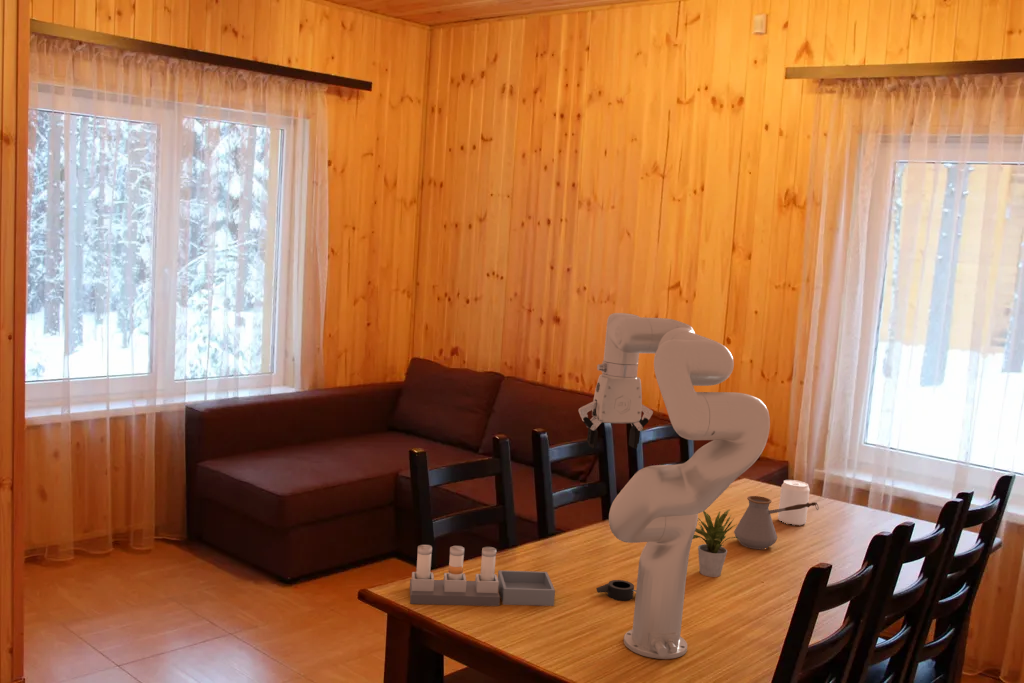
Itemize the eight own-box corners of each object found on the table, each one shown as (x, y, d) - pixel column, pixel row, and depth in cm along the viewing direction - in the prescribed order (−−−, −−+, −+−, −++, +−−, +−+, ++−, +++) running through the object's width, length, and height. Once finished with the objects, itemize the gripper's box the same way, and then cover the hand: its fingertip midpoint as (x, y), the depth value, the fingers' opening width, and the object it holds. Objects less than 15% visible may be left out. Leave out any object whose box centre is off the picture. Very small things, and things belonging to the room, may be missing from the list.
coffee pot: (727, 545, 265) (733, 491, 263) (739, 535, 275) (745, 483, 273) (808, 563, 255) (814, 507, 253) (817, 552, 265) (823, 498, 263)
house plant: (693, 557, 252) (699, 495, 250) (745, 570, 245) (752, 507, 243) (672, 572, 240) (679, 507, 238) (727, 586, 233) (734, 519, 231)
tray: (553, 605, 213) (555, 590, 212) (502, 604, 211) (504, 588, 211) (545, 586, 224) (547, 571, 223) (497, 585, 222) (498, 570, 222)
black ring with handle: (607, 586, 227) (608, 574, 227) (647, 597, 223) (648, 585, 222) (592, 596, 221) (594, 584, 220) (634, 607, 216) (635, 595, 216)
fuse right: (494, 591, 213) (497, 551, 212) (479, 591, 213) (482, 551, 211) (492, 586, 216) (495, 547, 215) (478, 586, 216) (481, 546, 214)
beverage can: (777, 523, 289) (781, 484, 287) (778, 516, 296) (782, 478, 295) (805, 528, 286) (810, 488, 285) (805, 520, 294) (810, 482, 293)
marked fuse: (462, 590, 212) (465, 550, 211) (447, 590, 212) (450, 550, 211) (461, 585, 215) (463, 546, 214) (446, 585, 215) (449, 545, 214)
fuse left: (429, 590, 211) (432, 549, 210) (415, 589, 211) (418, 549, 210) (429, 584, 214) (431, 544, 213) (414, 584, 214) (417, 544, 213)
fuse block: (499, 606, 210) (500, 585, 210) (410, 603, 208) (411, 583, 207) (494, 590, 219) (496, 570, 219) (409, 587, 217) (411, 568, 216)
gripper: (589, 372, 206) (582, 451, 209) (663, 374, 212) (655, 451, 214) (576, 366, 213) (569, 442, 216) (648, 368, 219) (641, 443, 221)
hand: (612, 446), depth 215 cm, fingers open, 9 cm apart
